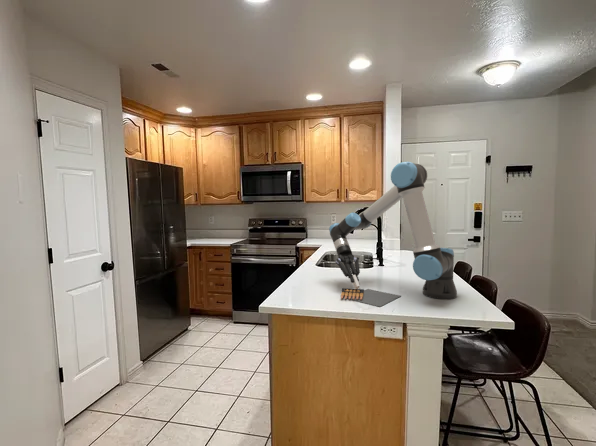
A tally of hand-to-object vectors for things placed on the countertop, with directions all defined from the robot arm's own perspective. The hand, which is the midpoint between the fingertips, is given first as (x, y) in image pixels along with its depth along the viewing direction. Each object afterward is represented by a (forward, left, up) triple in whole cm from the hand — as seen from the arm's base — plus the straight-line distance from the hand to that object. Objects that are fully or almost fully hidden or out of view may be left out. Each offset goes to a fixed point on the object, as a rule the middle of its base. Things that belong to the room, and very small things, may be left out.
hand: (357, 287), depth 151 cm
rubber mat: (-7, -2, -4) cm, 9 cm away
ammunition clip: (+4, -2, -2) cm, 5 cm away
